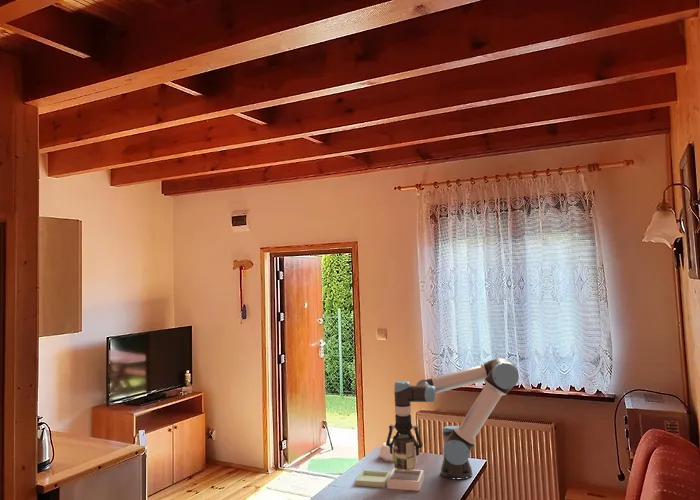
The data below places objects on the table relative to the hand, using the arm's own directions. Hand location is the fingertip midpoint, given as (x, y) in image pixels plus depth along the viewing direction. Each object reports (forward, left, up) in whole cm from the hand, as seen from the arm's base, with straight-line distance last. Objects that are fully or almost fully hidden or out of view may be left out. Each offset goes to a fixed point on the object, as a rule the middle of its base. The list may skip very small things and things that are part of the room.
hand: (404, 461), depth 252 cm
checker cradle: (0, 0, -10) cm, 10 cm away
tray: (+16, 0, -10) cm, 19 cm away
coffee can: (0, 0, -3) cm, 3 cm away
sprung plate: (0, 0, -8) cm, 8 cm away
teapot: (+13, -33, -11) cm, 37 cm away
